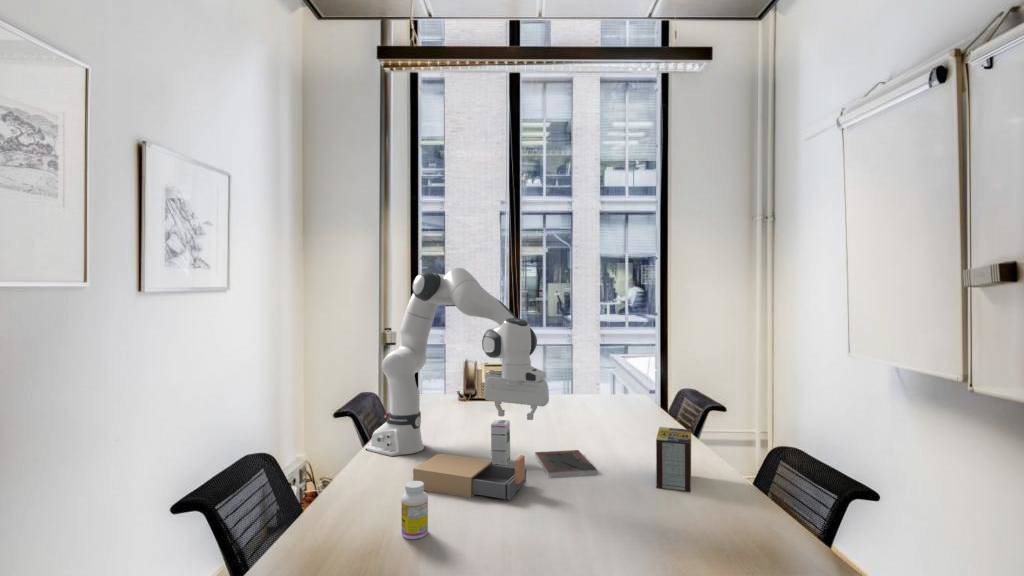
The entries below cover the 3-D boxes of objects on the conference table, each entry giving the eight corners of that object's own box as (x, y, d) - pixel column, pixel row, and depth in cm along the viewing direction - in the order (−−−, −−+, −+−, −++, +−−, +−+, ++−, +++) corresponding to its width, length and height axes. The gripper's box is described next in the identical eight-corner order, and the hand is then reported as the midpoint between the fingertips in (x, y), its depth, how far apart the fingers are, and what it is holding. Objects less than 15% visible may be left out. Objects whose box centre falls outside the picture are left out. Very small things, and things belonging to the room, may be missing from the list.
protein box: (691, 475, 177) (691, 429, 177) (690, 492, 162) (691, 442, 162) (658, 471, 180) (658, 426, 180) (655, 488, 166) (655, 438, 166)
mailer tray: (446, 489, 162) (446, 456, 162) (467, 473, 176) (467, 443, 176) (513, 500, 154) (513, 465, 154) (529, 483, 167) (529, 451, 167)
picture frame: (596, 476, 178) (578, 455, 199) (596, 469, 178) (578, 449, 199) (548, 479, 175) (535, 458, 196) (548, 472, 175) (535, 451, 196)
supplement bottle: (403, 528, 138) (403, 479, 138) (428, 527, 139) (428, 478, 139) (399, 541, 132) (399, 489, 132) (426, 540, 132) (426, 488, 132)
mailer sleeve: (413, 487, 166) (413, 468, 166) (438, 471, 181) (438, 453, 181) (470, 497, 158) (470, 477, 158) (492, 479, 173) (492, 460, 173)
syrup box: (507, 465, 186) (507, 424, 186) (490, 464, 187) (490, 423, 187) (510, 460, 192) (510, 420, 192) (494, 459, 193) (494, 419, 193)
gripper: (480, 371, 162) (480, 416, 163) (544, 376, 155) (543, 424, 155) (489, 368, 168) (488, 411, 168) (551, 373, 161) (550, 418, 161)
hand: (515, 417), depth 162 cm, fingers open, 8 cm apart
